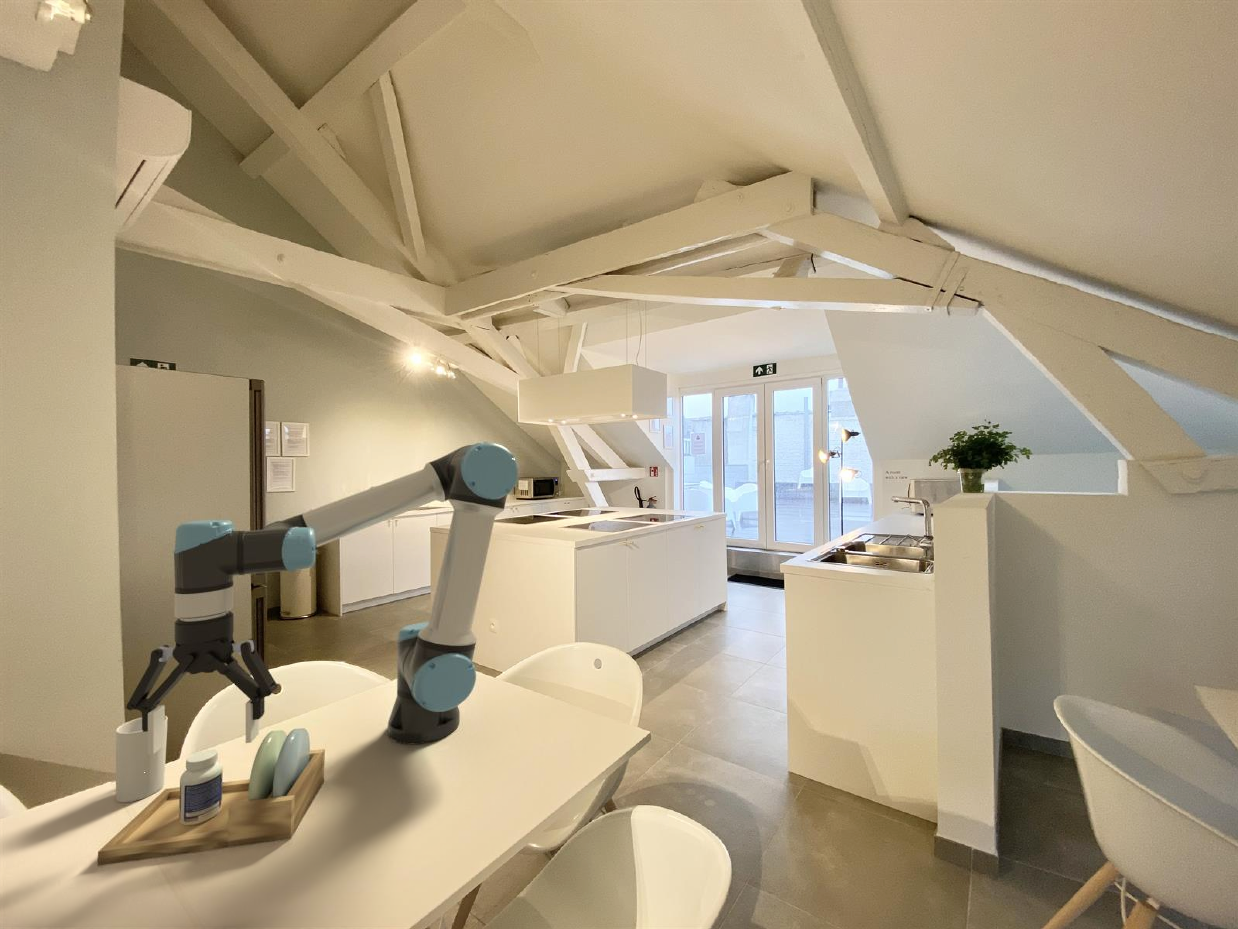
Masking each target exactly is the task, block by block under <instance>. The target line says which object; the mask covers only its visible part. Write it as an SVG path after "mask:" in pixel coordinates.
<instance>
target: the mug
mask: <svg viewBox="0 0 1238 929" xmlns="http://www.w3.org/2000/svg"><path fill="white" fill-rule="evenodd" d="M167 736H168V716H167V715H165V745H164V746H163V747H161V748H160V749H159V750H158V751H156V752H155V753H154V754H148V731H147V732H143V730H142V717H137V718H135V719H132V720H130V721H127V722H124V723H123V724H121V725H119V726H118V727H117V728H116V729H115V798H116V799H115V800H116V801H117V802H118V803H119V802H120V803H131V802H135V801H139V800H144V799H146V798H147V797H150V796H153V795H155V793H158V792H159V791H160V790H161V789H162V788H163V787H164V785H165V772H166V755H167V739H168V738H167ZM144 772H145V773H144Z"/></svg>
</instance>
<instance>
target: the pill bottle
mask: <svg viewBox="0 0 1238 929" xmlns="http://www.w3.org/2000/svg"><path fill="white" fill-rule="evenodd" d="M218 752H219V751H218V749H215V748H209V749H204V750H203V749H202V750H200V751H196V752H195V753H192V754H190V755H189V756H188V757H187V758H186V761H185V769H186V770H185V771H184V772H183V773H181V775H180V778H179V787H180V803H179V821H180V823H181V824H183V825H195V824H199V823H202V822H204V821H207V820H209V819H211V818H212V817H214V816H215V815H216V814H218V813H219V811H220V810H221V807H222V782H223V776H224V775H223V771H224V770H223V769H224V768H223V764H222V763H221V762H219V761H218V758H219V753H218Z"/></svg>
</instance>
